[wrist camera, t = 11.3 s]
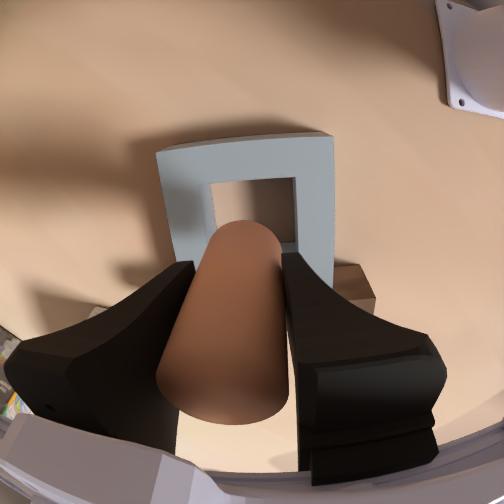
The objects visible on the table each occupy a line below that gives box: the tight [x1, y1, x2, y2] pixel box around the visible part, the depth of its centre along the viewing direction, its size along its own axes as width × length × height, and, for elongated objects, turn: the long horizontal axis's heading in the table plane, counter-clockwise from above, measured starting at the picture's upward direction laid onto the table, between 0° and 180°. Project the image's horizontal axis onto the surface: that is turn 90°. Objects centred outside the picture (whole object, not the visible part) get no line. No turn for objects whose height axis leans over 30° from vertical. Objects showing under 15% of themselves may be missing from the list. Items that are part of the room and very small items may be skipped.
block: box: [156, 132, 335, 289], centre depth 17 cm, size 9×9×3 cm
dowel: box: [156, 220, 289, 425], centre depth 10 cm, size 3×3×7 cm
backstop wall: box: [286, 265, 376, 329], centre depth 19 cm, size 14×2×4 cm, turn 95°
